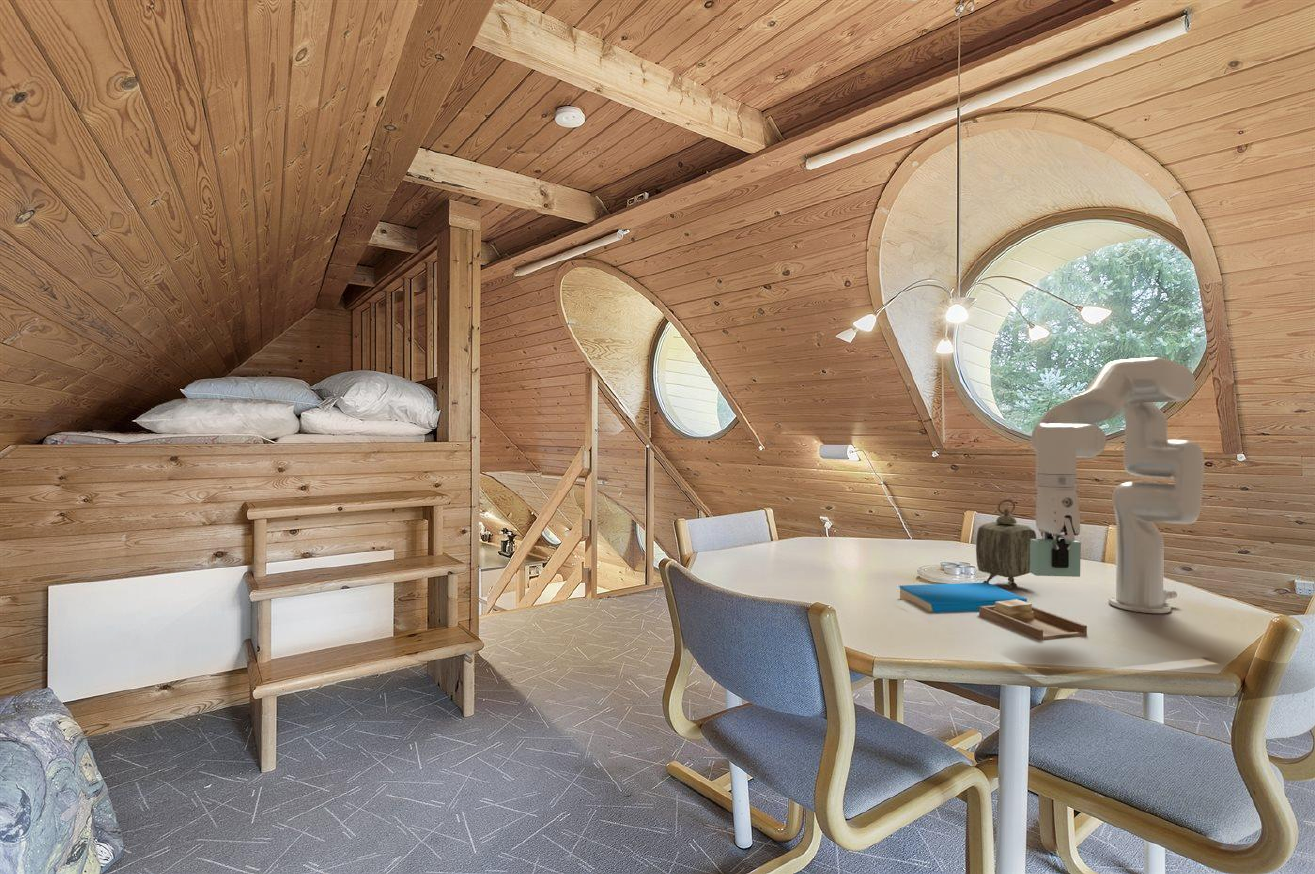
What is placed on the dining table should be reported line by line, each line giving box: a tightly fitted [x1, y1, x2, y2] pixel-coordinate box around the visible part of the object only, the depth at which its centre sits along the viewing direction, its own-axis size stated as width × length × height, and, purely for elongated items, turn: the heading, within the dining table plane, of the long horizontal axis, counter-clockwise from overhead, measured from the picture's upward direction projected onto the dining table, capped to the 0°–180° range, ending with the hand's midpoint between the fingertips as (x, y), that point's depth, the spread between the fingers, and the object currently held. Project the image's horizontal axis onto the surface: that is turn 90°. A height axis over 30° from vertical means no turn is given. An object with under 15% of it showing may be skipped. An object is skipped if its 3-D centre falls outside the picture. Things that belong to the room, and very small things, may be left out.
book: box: [898, 582, 1029, 614], centre depth 165 cm, size 17×4×25 cm
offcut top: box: [995, 599, 1033, 614], centre depth 150 cm, size 6×4×2 cm, turn 107°
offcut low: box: [994, 609, 1034, 621], centre depth 150 cm, size 7×4×2 cm, turn 103°
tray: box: [978, 605, 1088, 641], centre depth 145 cm, size 12×18×3 cm, turn 13°
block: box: [1029, 538, 1082, 578], centre depth 140 cm, size 9×3×8 cm, turn 85°
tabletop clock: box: [975, 498, 1037, 589], centre depth 182 cm, size 14×9×25 cm, turn 115°
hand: (1055, 564), depth 140 cm, fingers closed on block, 3 cm apart
